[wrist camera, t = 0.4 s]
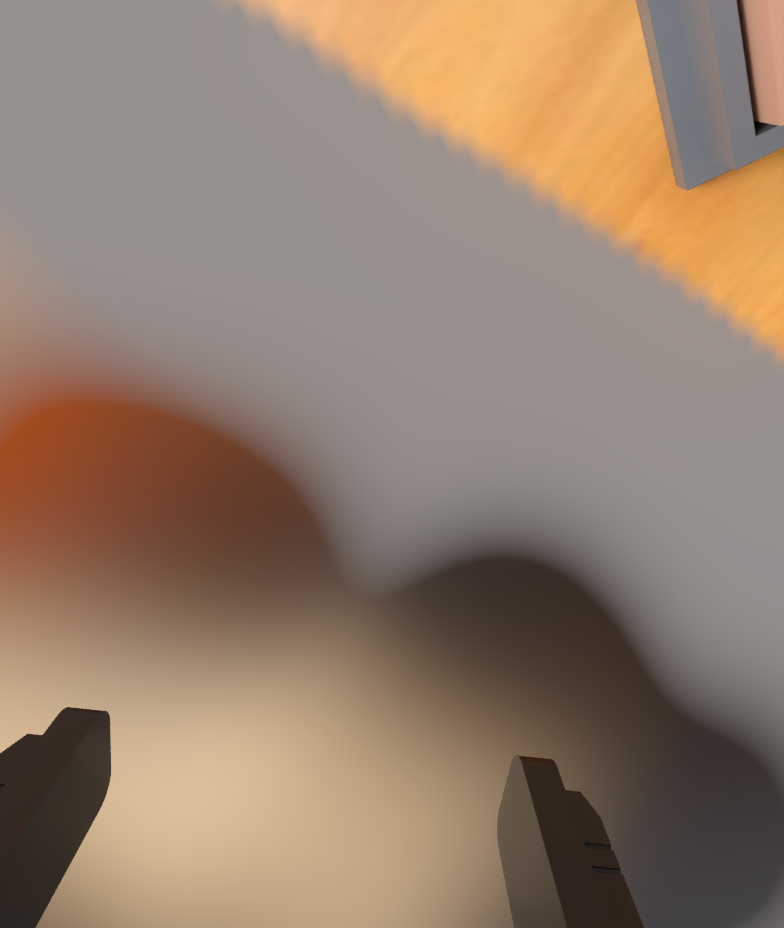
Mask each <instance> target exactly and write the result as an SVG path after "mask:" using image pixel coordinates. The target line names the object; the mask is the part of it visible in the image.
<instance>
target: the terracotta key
mask: <svg viewBox="0 0 784 928" xmlns="http://www.w3.org/2000/svg"><path fill="white" fill-rule="evenodd" d="M737 7H738V14H739V21H740V29H741V36H742V43H743V50H744V57H745V64H746V71H747V79H748V86H749V93H750V100H751V107H752V114H753V121H757V122H762V123H768V124H773V125H778V126H783V125H784V0H737Z"/></svg>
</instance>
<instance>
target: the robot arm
mask: <svg viewBox="0 0 784 928" xmlns="http://www.w3.org/2000/svg"><path fill="white" fill-rule="evenodd" d="M110 750H111V748H110V716H109V714H108V712H107V711H99V710H89V709H80V708H70V707H67V708H65V709H63V710H62V711H61V712H60V713H59V714H58V716H57V717H56V718H55V720H54V721H53V722H52V724H51V725H50V727H48V729H47V730H46V732H45V733H44V734H43V735H34V734H27V735H25V736H24V737H23V738H21V739H20V740H18V741H17V742H16V743H14V744H13V745H11V746H10V747H9V748H7V749H6V750H4V751H3V752H2V753H0V928H35V927H36V926H37V924H38V922H39V920H40V918H41V917H42V915H43V913H44V911H45V909H46V907H47V906H48V904H49V902H50V900H51V898H52V896H53V895H54V893H55V891H56V889H57V887H58V885H59V884H60V882H61V880H62V878H63V876H64V874H65V872H66V870H67V869H68V867H69V865H70V863H71V861H72V860H73V858H74V856H75V854H76V852H77V850H78V849H79V847H80V845H81V843H82V841H83V839H84V838H85V836H86V834H87V832H88V830H89V828H90V827H91V825H92V823H93V821H94V819H95V817H96V816H97V814H98V812H99V810H100V808H101V806H102V804H103V801H104V799H105V796H106V793H107V790H108V786H109V782H110V776H111V752H110ZM497 834H498V846H499V851H500V857H501V862H502V867H503V873H504V878H505V883H506V888H507V893H508V898H509V903H510V908H511V914H512V919H513V924H514V928H644V927H643V924H642V922H641V919H640V917H639V914H638V912H637V909H636V906H635V904H634V901H633V899H632V896H631V894H630V891H629V889H628V887H627V884H626V881H625V879H624V876H623V875H621V872H620V866H619V864H618V861H617V859H616V856H615V853H614V851H612V850H611V843H610V841H609V838H608V836H607V833H606V831H605V828H604V825H603V823H602V821H601V818H600V816H599V815H598V814H597V812H596V811H595V810H594V808H593V807H592V806H591V805H590V804H589V802H588V801H587V800H586V798H585V797H584V796H583V795H582V793H581V792H578V791H567V790H565V788H564V785H563V782H562V779H561V776H560V774H559V771H558V768H557V765H556V763H555V762H554V761H553V760H552V759H544V758H534V757H525V756H515V757H514V758H513V760H512V763H511V767H510V771H509V774H508V778H507V782H506V786H505V789H504V793H503V797H502V801H501V805H500V809H499V814H498V826H497Z"/></svg>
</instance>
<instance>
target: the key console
mask: <svg viewBox="0 0 784 928" xmlns="http://www.w3.org/2000/svg"><path fill="white" fill-rule="evenodd" d="M636 2H637V6H638V11H639V15H640V20H641V25H642V29H643V34H644V38H645V43H646V47H647V52H648V57H649V61H650V66H651V70H652V75H653V80H654V84H655V89H656V93H657V98H658V102H659V107H660V112H661V116H662V121H663V125H664V130H665V135H666V139H667V144H668V148H669V153H670V157H671V162H672V167H673V171H674V176H675V180H676V185H677V186H679V187H681V188H683V189H685V190H689V189H691V188H693V187H696V186H698V185H700V184H702V183H704V182H706V181H708V180H710V179H712V178H714V177H716V176H718V175H720V174H722V173H724V172H727V171H729V170H731V169H734V170H737V169H739V168H741V167H743V166H745V165H747V164H749V163H751V162H753V161H756V160H758V159H760V158H762V157H764V156H766V155H768V154H770V153H772V152H774V151H776V150H778V149H780V148H782V147H784V125H783V126H778V125H773V124H768V123H762V122H757V121H753V114H752V107H751V100H750V93H749V86H748V79H747V71H746V64H745V57H744V50H743V43H742V36H741V29H740V21H739V14H738V7H737V0H636Z"/></svg>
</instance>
